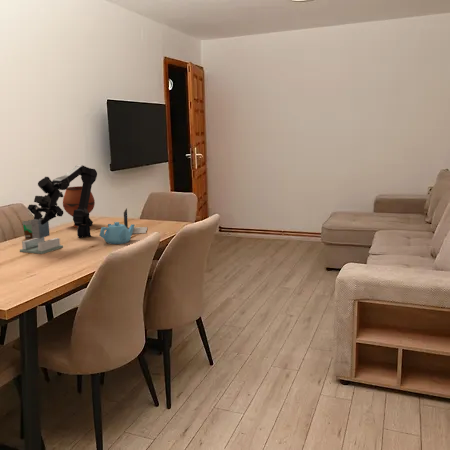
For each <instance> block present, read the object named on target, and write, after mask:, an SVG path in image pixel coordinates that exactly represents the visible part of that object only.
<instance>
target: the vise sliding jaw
mask: <svg viewBox="0 0 450 450" xmlns="http://www.w3.org/2000/svg"><path fill="white" fill-rule="evenodd" d="M43 241H45V237H43V238H29V239H27V240H23V241H21V245H22V249H25V250H26V249H29V248H33V247H36V246H38V243H40V242H43Z"/></svg>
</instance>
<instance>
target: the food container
mask: <svg viewBox="0 0 450 450" xmlns="http://www.w3.org/2000/svg"><path fill="white" fill-rule="evenodd" d="M31 220H32V219H28V220H22V225H23V226H22V227H23V232H24V238H25V239H33V237H32V226H31Z"/></svg>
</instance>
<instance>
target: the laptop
mask: <svg viewBox="0 0 450 450" xmlns="http://www.w3.org/2000/svg"><path fill="white" fill-rule="evenodd" d="M123 225H125V226H126V227H127V229H129V225H128V207H127V208H125V210H124V212H123ZM147 227H148V226H139V227H137V226H136V227H135V226H134V229H133V232H132V235H133V234H134V235H137V234H140V233H142V234H146V233H147V232H148V231H147V230H148V228H147ZM146 231H147V232H146ZM140 235H141V234H140Z"/></svg>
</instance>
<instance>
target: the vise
mask: <svg viewBox="0 0 450 450" xmlns="http://www.w3.org/2000/svg"><path fill="white" fill-rule="evenodd" d="M62 248H64V245H61V241H60V238H59V237H54V238H50V239H47V240H44V241H43V242H40V243H38V246H36V247H33V248H29V249H26V250H25V249H23V248H21V249H19V252H20V253H31V254H39V255H43V254H46V253H49V252H52V251H56V250H58V249H62Z"/></svg>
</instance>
